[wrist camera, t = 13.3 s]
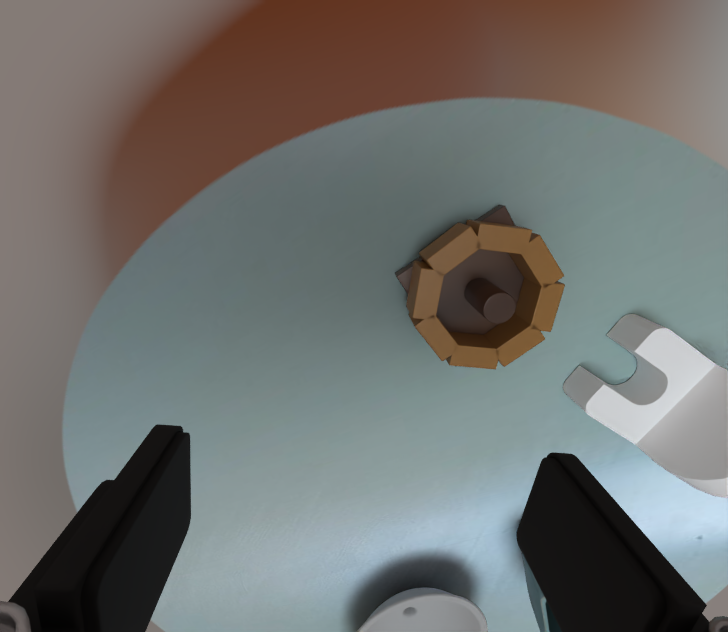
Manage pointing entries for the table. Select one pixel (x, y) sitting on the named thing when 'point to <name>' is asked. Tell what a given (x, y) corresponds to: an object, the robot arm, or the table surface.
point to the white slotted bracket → (664, 404)
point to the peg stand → (477, 286)
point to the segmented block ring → (532, 305)
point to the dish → (426, 613)
